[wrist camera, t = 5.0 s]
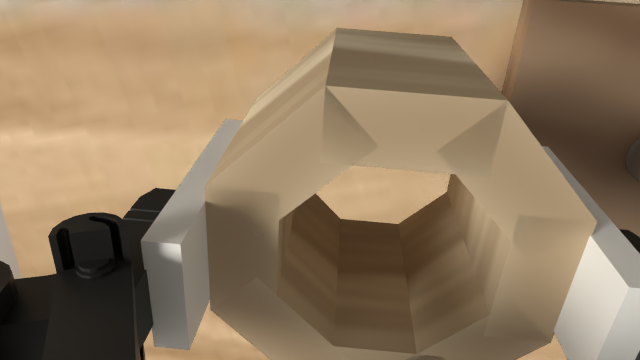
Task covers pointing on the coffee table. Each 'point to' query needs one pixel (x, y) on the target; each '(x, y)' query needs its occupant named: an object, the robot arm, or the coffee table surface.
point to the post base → (583, 95)
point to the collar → (385, 238)
